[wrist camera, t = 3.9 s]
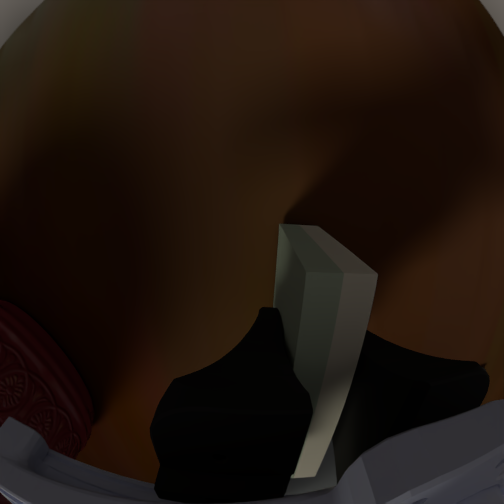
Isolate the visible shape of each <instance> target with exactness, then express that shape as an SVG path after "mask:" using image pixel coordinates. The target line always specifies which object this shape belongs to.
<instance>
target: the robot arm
mask: <svg viewBox="0 0 504 504" xmlns="http://www.w3.org/2000/svg"><path fill="white" fill-rule="evenodd" d="M488 387H489V375H488V374H487V372H486V371H485V370H484V369H483V368H482V367H481V366H480V365H479V364H478V363H477V362H474V361H461V360H450V359H444V358H439V357H434V356H429V355H425V354H422V353H418V352H415V351H412V350H409V349H406V348H403V347H400V346H398V345H396V344H393V343H391V342H389V341H386V340H384V339H382V338H380V337H379V336H377V335H375V334H373V333H371V332H369V331H368V330H366V333H365V337H364V341H363V345H362V349H361V352H360V356H359V360H358V363H357V366H356V370H355V373H354V376H353V380H352V383H351V386H350V389H349V392H348V395H347V398H346V401H345V404H344V407H343V410H342V412H341V415H340V418H339V421H338V423H337V426H336V428H335V431H334V434H333V436H332V442H333V449H334V457H335V467H336V477H337V485H336V486H333V487H329V488H325V489H321V490H317V491H312V492H308V493H303V494H294V495H285V493H286V490H287V487H288V484H289V482H290V479H291V476H292V475H294V472H295V470H296V467H297V464H298V461H299V458H300V455H301V452H302V449H303V445H304V442H305V439H306V436H307V432H308V429H309V426H310V422H311V419H312V415H313V407H312V403H311V399H310V395H309V392H308V391H307V390H306V389H305V388H304V387H303V385H302V384H301V382H300V381H299V380H298V378H297V377H296V375H295V373H294V371H293V369H292V367H291V365H290V362H289V360H288V357H287V355H286V352H285V349H284V345H283V342H282V333H281V315H280V312H279V310H278V308H271V307H262V308H261V309H260V310H259V314H258V317H257V319H256V321H255V322H254V324H253V326H252V327H251V329H250V330H249V332H248V333H247V334H246V335H245V337H244V338H243V339H242V340H241V341H240V343H239V344H238V345H237V346H236V347H234V348H233V349H232V350H231V351H230V352H229V353H228V354H226V355H225V356H224V357H222V358H221V359H220V360H218V361H216V362H215V363H213V364H211V365H209V366H207V367H205V368H203V369H201V370H199V371H196V372H193V373H191V374H188V375H185V376H182V377H179V378H175V379H174V380H173V381H172V383H171V384H170V386H169V387H168V389H167V390H166V392H165V394H164V395H163V397H162V399H161V400H160V402H159V405H158V407H157V409H156V412H155V415H154V418H153V421H152V423H151V426H150V436H151V440H152V443H153V446H154V449H155V452H156V454H157V457H158V460H159V463H160V468H159V471H158V475H157V478H156V482H155V484H152V483H147V482H143V481H139V480H135V479H131V478H128V477H124V476H120V475H117V474H114V473H111V472H107V471H104V470H101V469H98V468H96V467H93V466H90V465H87V464H85V463H82V462H79V461H77V460H74V459H72V458H70V457H67V456H65V455H63V454H60V453H58V452H56V451H54V450H51V449H49V447H48V445H47V443H46V441H45V440H44V438H43V437H42V436H41V435H40V434H39V433H38V432H37V431H36V430H34V429H33V428H31V427H29V426H27V425H25V424H23V423H22V422H20V421H18V420H16V419H14V418H13V417H8V419H7V420H6V421H5V422H4V424H3V425H2V426H1V427H0V493H1V494H2V495H4V496H5V497H6V498H7V499H8V500H9V501H10V502H11V503H13V504H504V400H496V401H491V402H488V403H486V404H484V405H481V403H482V401H483V400H484V398H485V395H486V393H487V391H488ZM480 405H481V406H480Z"/></svg>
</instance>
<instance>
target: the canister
mask: <svg viewBox="0 0 504 504" xmlns="http://www.w3.org/2000/svg"><path fill="white" fill-rule="evenodd" d="M8 417H13V418H14V419H16V420H18V421H20V422H22V423H23V424H25V425H27V426H29V427H31V428H33V429H34V430H36V431H37V432H38V433H39V434H40V435H41V436H42V437H43V438H44V440H45V441H46V443H47V445H48V447H49V449H51V450H54V451H56V452H58V453H60V454H63V455H65V456H67V457H70V458H72V459H74V460H75V459H76V457H77V455H78V453H79V452H80V451H81V450H83V449H84V447H85V446H86V443H87V441H88V439H89V438H90V435H91V428H92V425H93V422H94V407H93V403H92V400H91V397H90V394H89V392H88V390H87V388H86V386H85V384H84V382H83V380H82V378H81V377H80V375H79V373H78V372H77V370H76V369H75V367H74V366H73V364H72V363H71V361H70V360H69V359H68V357H67V356H66V354H65V353H64V352H63V351H62V349H61V348H60V347H59V346H58V344H57V343H56V342H55V341H54V340H53V339H52V337H51V336H50V335H49V334H48V333H47V332H46V331H45V330H44V329H43V328H42V327H41V326H40V325H39V324H38V323H37V322H36V321H35V320H34V319H33V318H31V317H30V316H29V315H28V314H27V313H25V312H24V311H23V310H21V309H20V308H18V307H17V306H15V305H14V304H12V303H10V302H8V301H5V300H2V299H0V427H1V426H2V425H3V424H4V422H5V421H6V420H7V419H8ZM0 504H13V503H11V502H10V501H9V500H8V499H7V498H6V497H5V496H4V495H2V494H1V493H0Z"/></svg>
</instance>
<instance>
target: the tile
mask: <svg viewBox="0 0 504 504" xmlns="http://www.w3.org/2000/svg"><path fill="white" fill-rule="evenodd" d="M377 278H378V274H377V273H376V272H375V271H374V270H373V269H371V268H370V267H369V266H368V265H367V264H365V263H364V262H363V261H362V260H360V259H359V258H358V257H357V256H356V255H354V254H353V253H352V252H351V251H349V250H348V249H347V248H346V247H344V246H343V245H342V244H341V243H339V242H338V241H337V240H335V239H334V238H333V237H332V236H330V235H329V234H328V233H327V232H325V231H324V230H323V229H321V228H320V227H319V226H310V225H294V224H279V237H278V251H277V265H276V278H275V290H274V302H273V308H278V310H279V312H280V315H281V333H282V342H283V345H284V349H285V352H286V355H287V357H288V360H289V362H290V365H291V367H292V369H293V371H294V373H295V375H296V377H297V378H298V380H299V381H300V382H301V384H302V385H303V387H304V388H305V389H306V390H307V391H308V392H309V395H310V399H311V403H312V407H313V415H312V419H311V422H310V426H309V429H308V432H307V436H306V439H305V442H304V445H303V449H302V452H301V455H300V458H299V461H298V464H297V467H296V470H295V472H294V475H292V476H291V478H303V477H315V475H316V473H317V471H318V469H319V467H320V464H321V462H322V460H323V458H324V455H325V453H326V451H327V448H328V446H329V444H330V441H331V439H332V436H333V434H334V431H335V428H336V426H337V423H338V421H339V418H340V415H341V412H342V410H343V407H344V404H345V401H346V398H347V395H348V392H349V389H350V386H351V383H352V380H353V376H354V373H355V370H356V366H357V363H358V360H359V356H360V352H361V349H362V345H363V341H364V337H365V333H366V329H367V325H368V321H369V317H370V312H371V308H372V303H373V298H374V294H375V289H376V283H377Z"/></svg>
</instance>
